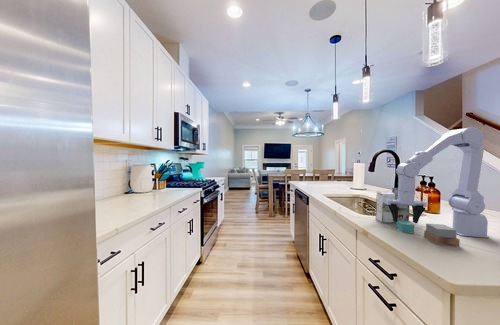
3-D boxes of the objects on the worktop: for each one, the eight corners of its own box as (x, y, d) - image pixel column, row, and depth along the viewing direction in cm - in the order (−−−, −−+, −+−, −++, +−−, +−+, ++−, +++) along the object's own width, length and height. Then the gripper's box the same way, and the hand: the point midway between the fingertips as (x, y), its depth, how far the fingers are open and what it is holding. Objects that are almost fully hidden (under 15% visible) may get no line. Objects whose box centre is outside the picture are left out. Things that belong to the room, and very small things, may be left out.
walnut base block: (444, 239, 79) (444, 232, 78) (459, 247, 72) (459, 239, 72) (424, 238, 80) (424, 230, 80) (436, 245, 73) (436, 237, 73)
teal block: (407, 229, 89) (408, 221, 89) (414, 233, 85) (414, 224, 84) (396, 228, 90) (396, 220, 90) (401, 232, 85) (402, 224, 85)
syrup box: (387, 219, 102) (388, 191, 102) (394, 223, 96) (395, 193, 96) (375, 219, 103) (376, 191, 102) (381, 222, 97) (382, 193, 96)
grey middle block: (443, 232, 78) (443, 224, 78) (456, 238, 73) (456, 230, 72) (426, 230, 80) (426, 223, 79) (437, 236, 74) (437, 228, 74)
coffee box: (409, 224, 94) (410, 190, 94) (392, 222, 98) (393, 189, 97) (406, 219, 102) (407, 188, 102) (390, 217, 106) (391, 187, 105)
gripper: (391, 191, 84) (390, 223, 85) (432, 193, 81) (430, 226, 82) (384, 188, 91) (383, 218, 92) (421, 190, 88) (419, 221, 89)
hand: (405, 221), depth 87 cm, fingers open, 7 cm apart
